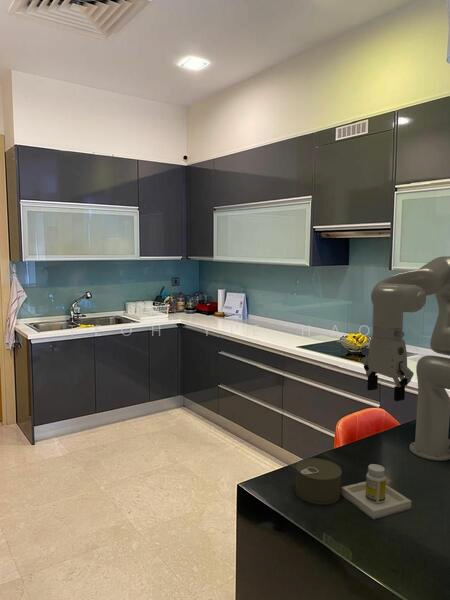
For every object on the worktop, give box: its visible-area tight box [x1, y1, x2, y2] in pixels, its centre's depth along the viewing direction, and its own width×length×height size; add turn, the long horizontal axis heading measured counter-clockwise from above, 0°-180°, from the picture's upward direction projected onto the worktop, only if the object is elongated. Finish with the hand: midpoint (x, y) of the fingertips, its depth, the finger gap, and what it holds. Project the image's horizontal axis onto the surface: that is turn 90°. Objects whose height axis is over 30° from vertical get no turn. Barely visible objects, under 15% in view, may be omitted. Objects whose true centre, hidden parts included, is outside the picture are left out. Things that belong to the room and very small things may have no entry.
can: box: [295, 457, 343, 506], centre depth 118 cm, size 12×12×7 cm
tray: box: [340, 481, 412, 520], centre depth 114 cm, size 12×12×2 cm
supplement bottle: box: [365, 463, 387, 503], centre depth 114 cm, size 5×5×8 cm
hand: (385, 394), depth 121 cm, fingers open, 9 cm apart
